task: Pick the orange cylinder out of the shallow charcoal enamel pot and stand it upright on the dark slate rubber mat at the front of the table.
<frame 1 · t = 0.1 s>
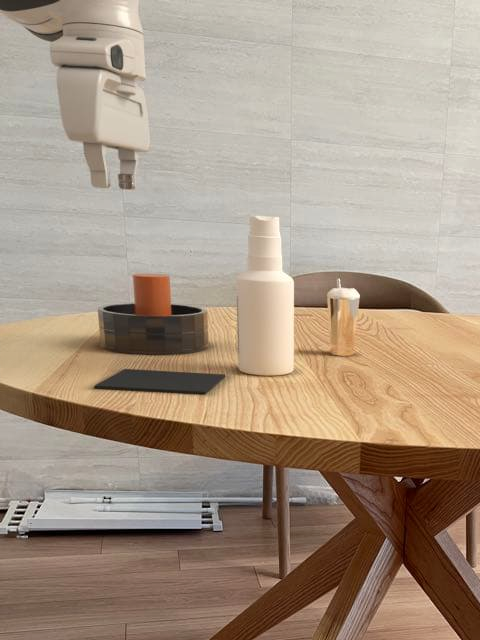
hand: (115, 188, 101), 20 cm above the table, tool pointing down, fingers open, 8 cm apart
mat: (163, 382, 94), on the table
pot: (155, 345, 116), on the table
orange cylinder: (153, 309, 114), in the pot
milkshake: (341, 355, 118), on the table
spray bottle: (266, 372, 103), on the table
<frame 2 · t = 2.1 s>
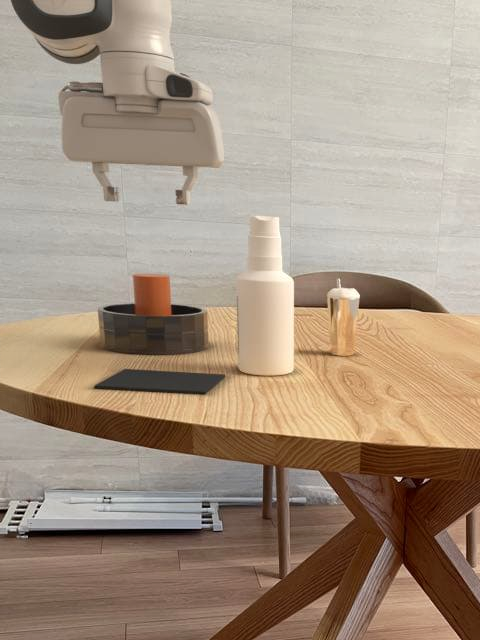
hand: (147, 203, 109), 19 cm above the table, tool pointing down, fingers open, 8 cm apart
nothing on the table moved.
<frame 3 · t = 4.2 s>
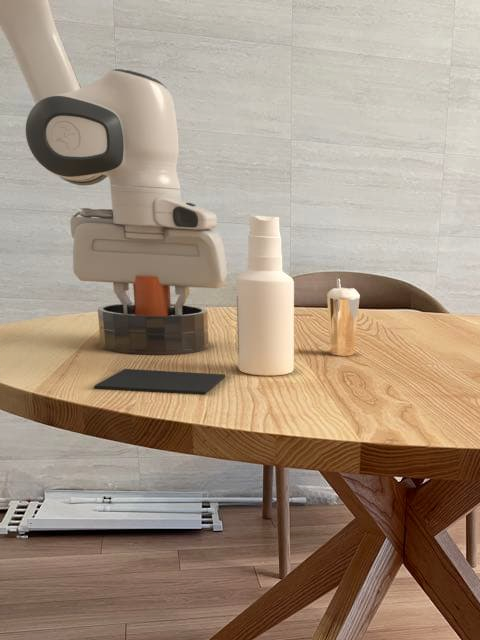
hand: (153, 318, 114), 4 cm above the table, tool pointing down, fingers closed on orange cylinder, 5 cm apart
orange cylinder: (153, 309, 114), in the pot, touching gripper
everything else where it was.
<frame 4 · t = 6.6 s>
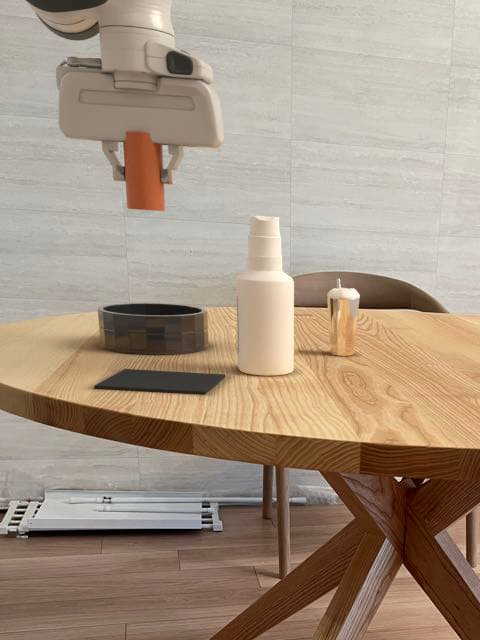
hand: (145, 182, 107), 21 cm above the table, tool pointing down, fingers closed on orange cylinder, 5 cm apart
orange cylinder: (144, 172, 106), point 22 cm above the table, touching gripper
everything else where it was.
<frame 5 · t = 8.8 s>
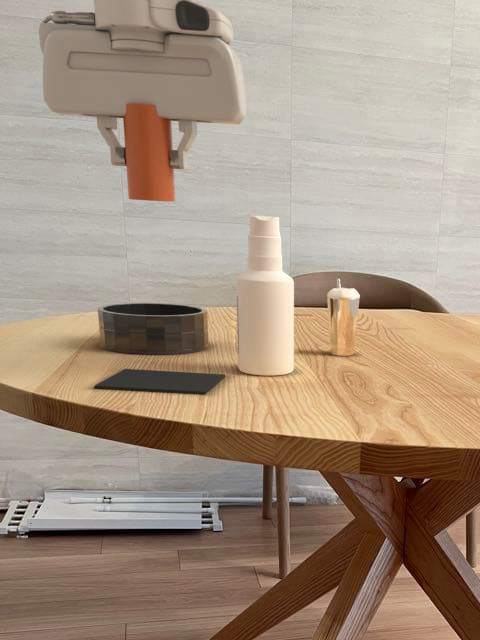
hand: (150, 167, 87), 22 cm above the table, tool pointing down, fingers closed on orange cylinder, 5 cm apart
orange cylinder: (149, 154, 87), point 24 cm above the table, touching gripper
everything else where it was.
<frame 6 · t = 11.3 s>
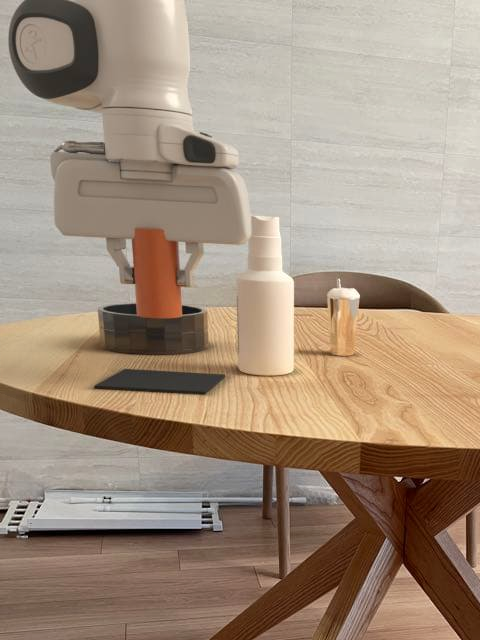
hand: (158, 285, 90), 11 cm above the table, tool pointing down, fingers closed on orange cylinder, 5 cm apart
orange cylinder: (157, 272, 89), point 12 cm above the table, touching gripper
everything else where it was.
when the fingers open (3 cm above the table, at t = 13.4 s): orange cylinder stays where it is, resting on mat.
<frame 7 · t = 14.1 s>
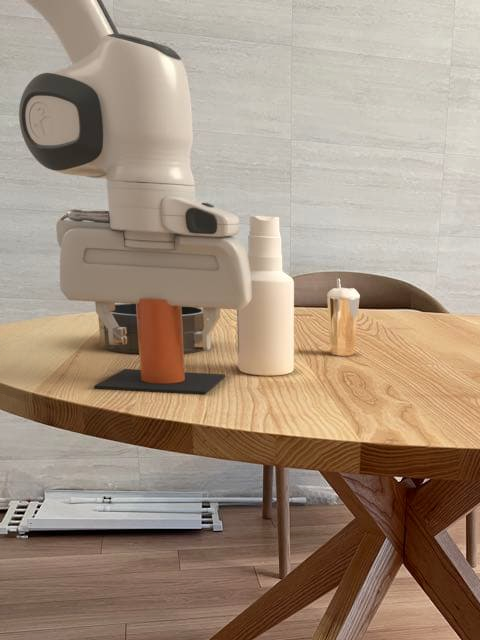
hand: (160, 346, 92), 4 cm above the table, tool pointing down, fingers open, 8 cm apart
orange cylinder: (160, 339, 92), resting on mat
everything else where it was.
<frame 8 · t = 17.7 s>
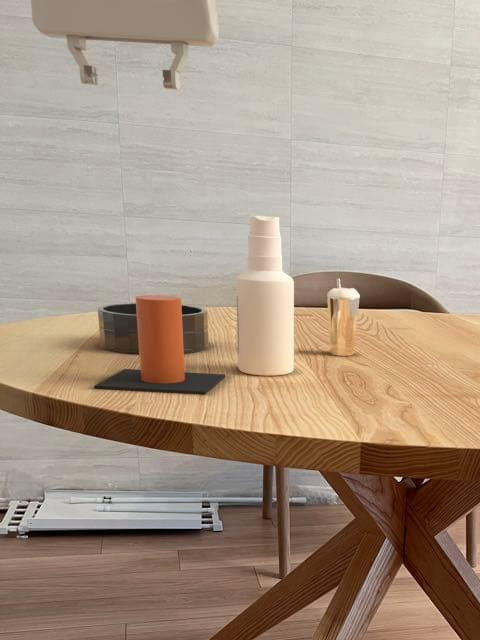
hand: (130, 86, 95), 31 cm above the table, tool pointing down, fingers open, 8 cm apart
nothing on the table moved.
at the end: orange cylinder inside the target area on the mat (0.1 cm from its centre), point 4.8 cm above the mat's base; orange cylinder tilted 0° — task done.
